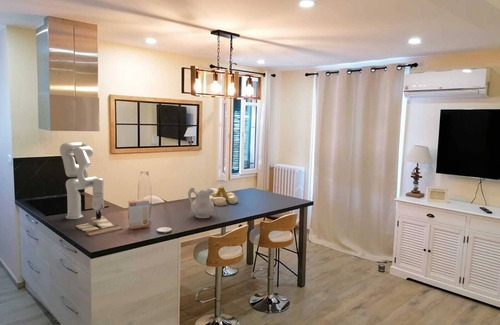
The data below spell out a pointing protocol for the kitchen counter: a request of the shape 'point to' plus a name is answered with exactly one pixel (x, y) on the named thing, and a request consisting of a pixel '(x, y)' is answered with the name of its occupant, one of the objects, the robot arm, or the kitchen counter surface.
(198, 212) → the ceramic pitcher
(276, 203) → the kitchen counter surface
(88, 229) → the plank near
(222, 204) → the campfire
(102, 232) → the laid floor strip
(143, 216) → the cracker box
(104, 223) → the plank far
